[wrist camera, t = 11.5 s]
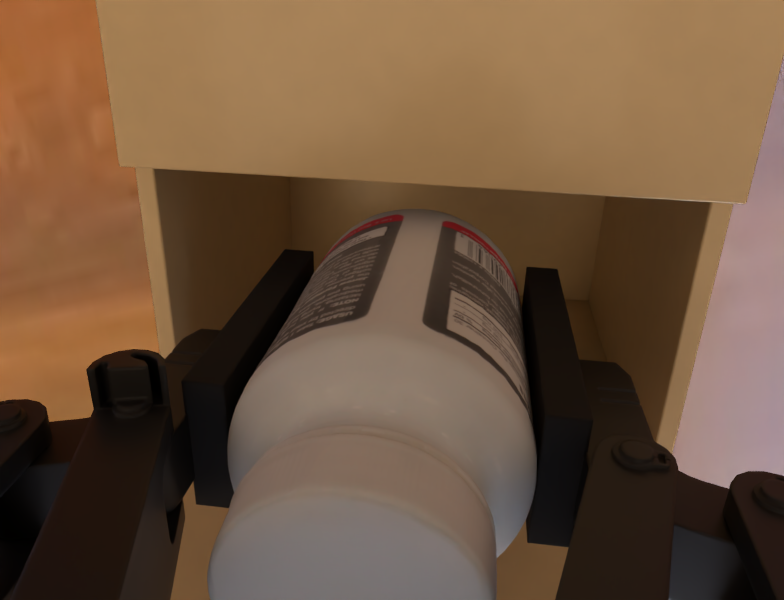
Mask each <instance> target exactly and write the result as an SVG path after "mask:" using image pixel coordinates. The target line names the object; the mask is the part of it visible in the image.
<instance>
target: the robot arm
mask: <svg viewBox="0 0 784 600" xmlns="http://www.w3.org/2000/svg"><path fill="white" fill-rule="evenodd" d="M313 273H314V252H313V251H304V250H290V249H285V250H284V251H283V252H282V253H281V255H280V256H279V257H278V259H277V260H276V261H275V262H274V264H273V265H272V266H271V267H270V269H269V270H268V271H267V272H266V274H265V275H264V276H263V278H262V279H261V280H260V281H259V283H258V284H257V285H256V286H255V288H254V289H253V290H252V292H251V293H250V294H249V295H248V297H247V298H246V299H245V300H244V302H243V303H242V304H241V305H240V307H239V308H238V309H237V311H236V312H235V313H234V314H233V316H232V317H231V318H230V319H229V321H228V322H227V323H226V324H225V326H224V327H223V328H222V330H213V329H199V330H197V331H196V332H194V333H192V334H190V335H188V336H186V337H185V338H183V339H182V340H181V341H180V342H179V343H178V345H177V346H176V347H175V348H174V349H173V350H172V353H170V354H169V355H168V356H167V357H166V358H165V359H164V358H163V357H162V356H161V355H160V354H159V353H156V352H153V351H149V350H138V349H132V350H125V351H118V352H115V353H112V354H108V355H105V356H103V357H101V358H99V359H98V360H96V361H94V362H93V363H92V364H91V365H90V366H89V367H88V368H87V369H86V370H87V375H88V381H89V386H90V391H91V397H92V402H93V407H94V410H93V413H92V415H91V417H89V418H83V419H74V420H64V421H54V422H49V419H48V415H47V410H46V407H45V406H44V405H42V404H41V403H40V402H37V401H32V400H28V399H24V400H6V401H5V402H4V401H2V402H0V600H170V599H171V593H172V588H173V583H174V577H175V572H176V566H177V561H178V555H179V550H180V544H181V539H182V533H183V528H184V522H185V510H184V503H183V497H184V495H185V494H186V492H187V490H188V489H189V487H190V486H191V484H192V482H193V483H194V491H195V500H196V505H205V506H214V507H222V508H229V507H230V503H231V500H232V497H233V495H234V490H233V486H232V483H231V479H230V474H229V469H228V455H227V446H228V435H229V428H230V424H231V420H232V417H233V414H234V411H235V408H236V405H237V403H238V401H239V399H240V397H241V395H242V393H243V391H244V388H245V387H246V385H247V383H248V381H249V379H250V378H251V376H252V374H253V373H254V371H255V370H256V368H257V366H258V365H259V363H260V362H261V360H262V359H263V357H264V356H265V354H266V353H267V351H268V349H269V347H270V346H271V344H272V343H273V341H274V340H275V338H276V337H277V335H278V333H279V331H280V330H281V328H282V327H283V325H284V323H285V322H286V320H287V319H288V317H289V315H290V314H291V312H292V310H293V308H294V307H295V305H296V303H297V301H298V299H299V298H300V296H301V294H302V292H303V291H304V289H305V287H306V286H307V284H308V282H309V281H310V279H311V277H312V275H313ZM522 316H523V328H524V336H525V346H526V357H527V366H528V379H529V386H530V397H531V405H532V415H533V424H534V432H535V437H536V445H537V451H538V456H537V478H536V487H535V492H534V497H533V501H532V504H531V508H530V510H529V513H528V515H527V518H526V530H527V543H534V544H542V545H551V546H560V547H568V552H567V556H566V560H565V563H564V567H563V571H562V575H561V579H560V583H559V587H558V590H557V594H556V598H555V600H784V476H782V475H777V474H773V473H768V472H764V471H748V472H745V473H742V474H739V475H737V476H736V477H735V478H734V480H733V481H732V482H731V485H730V488H729V489H727V488H724V487H720V486H717V485H714V484H711V483H707V482H704V481H701V480H698V479H696V478H693V477H690V476H688V475H686V474H684V473H682V472H680V471H679V470H678V466H677V463H676V459H675V457H674V456H673V455H672V454H671V453H670V452H669V451H668V450H667V449H666V448H665V447H663V446H661V445H660V444H658V443H657V442H655V441H654V439H653V437H652V434H651V431H650V428H649V425H648V423H647V420H646V417H645V414H644V412H643V409H642V406H641V405H640V401H639V398H638V395H637V393H636V389H635V387H634V384H633V381H632V378H631V376H630V375H629V374H628V373H627V372H626V371H625V370H623V369H622V368H621V367H620V366H619V365H618V364H617V363H615V362H603V361H592V360H580V359H579V357H578V353H577V349H576V345H575V340H574V336H573V332H572V328H571V324H570V320H569V315H568V311H567V307H566V303H565V299H564V294H563V290H562V286H561V282H560V278H559V273H558V269H553V268H539V267H526V275H525V284H524V292H523V301H522Z"/></svg>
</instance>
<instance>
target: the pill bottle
mask: <svg viewBox="0 0 784 600" xmlns="http://www.w3.org/2000/svg"><path fill="white" fill-rule="evenodd" d="M227 455H228V469H229V474H230V479H231V483H232V486H233V490H234V495H233V497H232V500H231V503H230V507H229V511H228V514H227V516H226V518H225V520H224V522H223V525H222V527H221V529H220V531H219V534H218V536H217V538H216V541H215V543H214V546H213V549H212V552H211V556H210V561H209V566H208V575H207V583H208V592H209V596H210V600H496V598H497V564H496V561H497V558H498V557H499V556H500V555H501V554H502V553H503V552H504V551H505V550H506V548H507V547H508V546H509V545H510V544H511V542H512V541H513V540H514V538H515V537H516V536H517V534H518V533H519V531H520V529H521V528H522V526H523V524H524V522H525V520H526V518H527V515H528V513H529V510H530V508H531V504H532V501H533V497H534V492H535V487H536V478H537V456H538V451H537V445H536V437H535V432H534V424H533V415H532V405H531V397H530V386H529V379H528V366H527V357H526V346H525V336H524V328H523V316H522V307H521V301H520V295H519V290H518V286H517V282H516V278H515V276H514V273H513V271H512V269H511V266H510V265H509V263H508V261H507V259H506V258H505V256H504V255H503V253H502V252H501V250H500V249H499V248H498V247H497V246H496V245H495V244H494V243H493V242H492V240H491V239H489V238H488V237H487V236H486V235H485V234H484V233H483V232H481V231H480V230H479V229H477V228H476V227H474V226H473V225H471V224H469V223H468V222H466V221H464V220H461V219H459V218H457V217H455V216H452V215H449V214H446V213H443V212H440V211H436V210H426V209H400V210H393V211H388V212H384V213H380V214H377V215H374V216H371V217H369V218H368V219H366V220H364V221H362V222H361V223H359V224H357V225H355V226H354V227H352V228H351V229H349V230H348V231H347V232H346V233H345V234H344V235H343V236H342V237H341V238H340V239H339V240H338V241H337V242H336V243H335V244H334V245H333V246H332V247H331V249H330V250H329V251H328V253H327V254H326V256H325V257H324V258H323V260H322V262H321V263H320V265H319V266H318V268H317V269H316V271H315V272H314V273H313V275H312V277H311V279H310V281H309V282H308V284H307V286H306V287H305V289H304V291H303V292H302V294H301V296H300V298H299V299H298V301H297V303H296V305H295V307H294V308H293V310H292V312H291V314H290V315H289V317H288V319H287V320H286V322H285V323H284V325H283V327H282V328H281V330H280V331H279V333H278V335H277V337H276V338H275V340H274V341H273V343H272V344H271V346H270V347H269V349H268V351H267V353H266V354H265V356H264V357H263V359H262V360H261V362H260V363H259V365H258V366H257V368H256V370H255V371H254V373H253V374H252V376H251V378H250V379H249V381H248V383H247V385H246V387H245V388H244V391H243V393H242V395H241V397H240V399H239V401H238V403H237V405H236V408H235V411H234V414H233V417H232V420H231V424H230V428H229V435H228V446H227Z"/></svg>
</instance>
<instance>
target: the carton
mask: <svg viewBox="0 0 784 600" xmlns="http://www.w3.org/2000/svg"><path fill="white" fill-rule="evenodd" d="M95 1H96V8H97V15H98V21H99V28H100V35H101V42H102V49H103V56H104V63H105V70H106V77H107V84H108V91H109V98H110V105H111V112H112V119H113V126H114V133H115V140H116V147H117V154H118V161H119V166H121V167H134V168H135V171H136V179H137V186H138V194H139V201H140V209H141V216H142V224H143V231H144V238H145V246H146V253H147V261H148V268H149V276H150V283H151V291H152V298H153V306H154V313H155V321H156V328H157V336H158V343H159V351H160V355H161V356H162V357H163V358H164V359H165V358H166V357H167V356H168V355H169V354H170V353H172V350H173V349H174V348H175V347H176V346H177V345H178V343H179V342H180V341H181V340H182V339H183V338H185V337H186V336H188V335H190V334H192V333H194V332H196V331H197V330H199V329H213V330H222V328H223V327H224V326H225V324H226V323H227V322H228V321H229V319H230V318H231V317H232V316H233V314H234V313H235V312H236V311H237V309H238V308H239V307H240V305H241V304H242V303H243V302H244V300H245V299H246V298H247V297H248V295H249V294H250V293H251V292H252V290H253V289H254V288H255V286H256V285H257V284H258V283H259V281H260V280H261V279H262V278H263V276H264V275H265V274H266V272H267V271H268V270H269V269H270V267H271V266H272V265H273V264H274V262H275V261H276V260H277V259H278V257H279V256H280V255H281V253H282V252H283V251H284V250H285V249H290V250H304V251H313V252H314V272H315V271H316V269H317V268H318V266H319V265H320V263H321V262H322V260H323V258H324V257H325V256H326V254H327V253H328V251H329V250H330V249H331V247H332V246H333V245H334V244H335V243H336V242H337V241H338V240H339V239H340V238H341V237H342V236H343V235H344V234H345V233H346V232H347V231H348V230H349V229H351V228H352V227H354V226H355V225H357V224H359V223H361V222H362V221H364V220H366V219H368V218H369V217H371V216H374V215H377V214H380V213H384V212H388V211H393V210H400V209H426V210H436V211H440V212H443V213H446V214H449V215H452V216H455V217H457V218H459V219H461V220H464V221H466V222H468V223H469V224H471V225H473V226H474V227H476V228H477V229H479V230H480V231H481V232H483V233H484V234H485V235H486V236H487V237H488V238H489V239H491V240H492V242H493V243H494V244H495V245H496V246H497V247H498V248H499V249H500V250H501V252H502V253H503V255H504V256H505V258H506V259H507V261H508V263H509V265H510V266H511V269H512V271H513V273H514V276H515V278H516V282H517V286H518V290H519V295H520V301H521V307H522V301H523V292H524V284H525V275H526V267H539V268H553V269H558V273H559V278H560V282H561V286H562V290H563V294H564V299H565V303H566V307H567V311H568V315H569V320H570V324H571V328H572V332H573V336H574V340H575V345H576V349H577V353H578V357H579V359H580V360H592V361H603V362H615V363H617V364H618V365H619V366H620V367H621V368H622V369H623V370H625V371H626V372H627V373H628V374H629V375H630V376H631V378H632V381H633V384H634V387H635V389H636V393H637V395H638V398H639V401H640V405H641V406H642V409H643V412H644V414H645V417H646V420H647V423H648V425H649V428H650V431H651V434H652V437H653V439H654V441H655V442H657V443H658V444H660V445H661V446H663V447H665V448H666V449H667V450H668V451H669V452H670V453H671V454H672V452H673V448H674V444H675V440H676V436H677V432H678V428H679V424H680V420H681V416H682V411H683V407H684V403H685V399H686V395H687V391H688V387H689V383H690V379H691V375H692V371H693V367H694V362H695V358H696V354H697V350H698V346H699V342H700V338H701V334H702V330H703V326H704V322H705V318H706V313H707V309H708V305H709V301H710V297H711V293H712V289H713V285H714V281H715V277H716V273H717V268H718V264H719V260H720V256H721V252H722V248H723V244H724V240H725V236H726V232H727V228H728V224H729V219H730V215H731V211H732V207H733V204H746V202H747V198H748V194H749V190H750V186H751V182H752V178H753V174H754V170H755V166H756V162H757V158H758V154H759V150H760V146H761V142H762V138H763V135H764V131H765V127H766V123H767V119H768V115H769V111H770V107H771V103H772V99H773V95H774V91H775V87H776V83H777V79H778V75H779V71H780V67H781V63H782V59H783V55H784V0H95Z"/></svg>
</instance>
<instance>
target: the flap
mask: <svg viewBox="0 0 784 600" xmlns="http://www.w3.org/2000/svg"><path fill="white" fill-rule="evenodd" d="M183 503H184V510H185V522H184V528H183V533H182V539H181V544H180V550H179V555H178V561H177V566H176V572H175V577H174V583H173V588H172V593H171V599H170V600H210V596H209V592H208V583H207V575H208V566H209V561H210V556H211V552H212V549H213V546H214V543H215V541H216V538H217V536H218V534H219V531H220V529H221V527H222V525H223V522H224V520H225V518H226V516H227V514H228V511H229V508H222V507H214V506H205V505H196V500H195V491H194V483H193V482H192V484H191V486H190V487H189V489H188V490H187V492H186V494H185V495H184V497H183ZM567 552H568V547H560V546H551V545H542V544H534V543H527V530H526V520H525V522H524V524H523V526H522V528H521V529H520V531H519V533H518V534H517V536H516V537H515V538H514V540H513V541H512V542H511V544H510V545H509V546H508V547H507V548H506V550H505V551H504V552H503V553H502V554H501V555H500V556H499V557H498V558H497V561H496V564H497V598H496V600H555V598H556V594H557V590H558V587H559V583H560V579H561V575H562V571H563V567H564V563H565V560H566V556H567Z"/></svg>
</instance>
